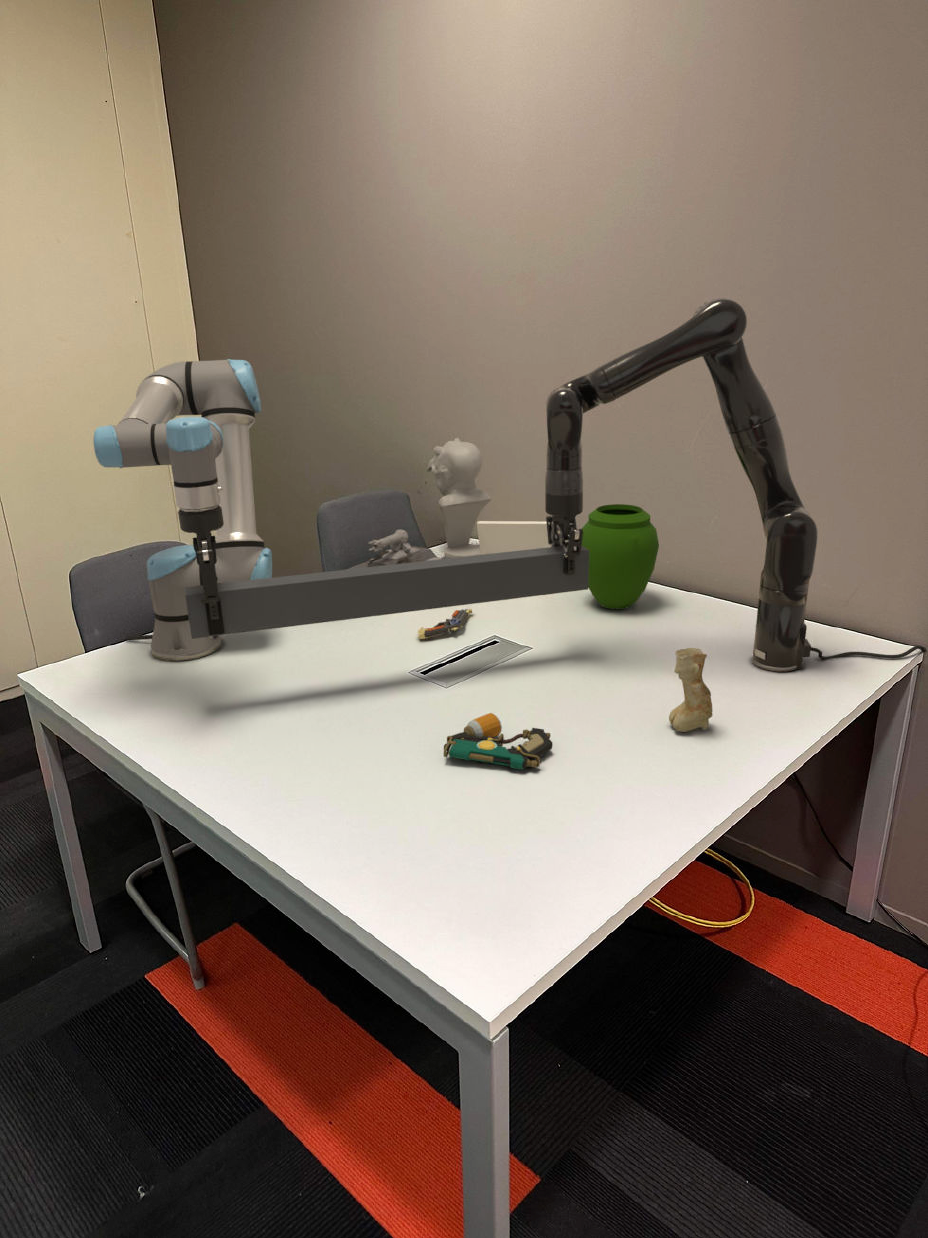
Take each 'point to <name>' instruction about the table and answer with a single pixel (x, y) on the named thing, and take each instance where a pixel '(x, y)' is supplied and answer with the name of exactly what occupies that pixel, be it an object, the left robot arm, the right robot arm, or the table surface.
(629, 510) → the vase
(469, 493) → the bust sculpture
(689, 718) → the sculpture
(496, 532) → the tablet stand
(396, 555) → the toy
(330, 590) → the beam
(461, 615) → the toy gun
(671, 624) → the table surface
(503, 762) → the spray gun
